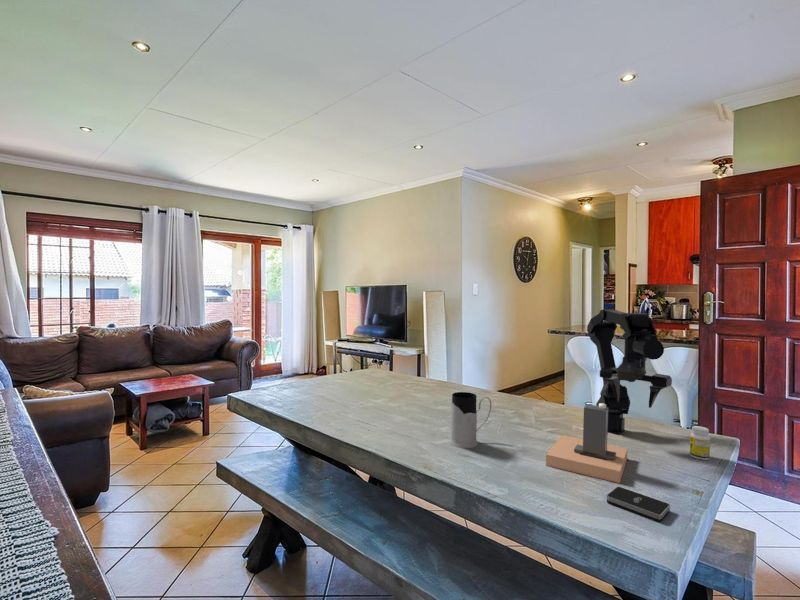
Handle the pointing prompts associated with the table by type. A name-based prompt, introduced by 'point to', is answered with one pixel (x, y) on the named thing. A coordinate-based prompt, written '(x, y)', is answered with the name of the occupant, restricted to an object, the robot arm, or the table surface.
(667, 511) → the external hard drive
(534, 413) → the table surface
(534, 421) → the table surface
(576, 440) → the plate
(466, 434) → the grey mug
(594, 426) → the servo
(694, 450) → the supplement bottle
